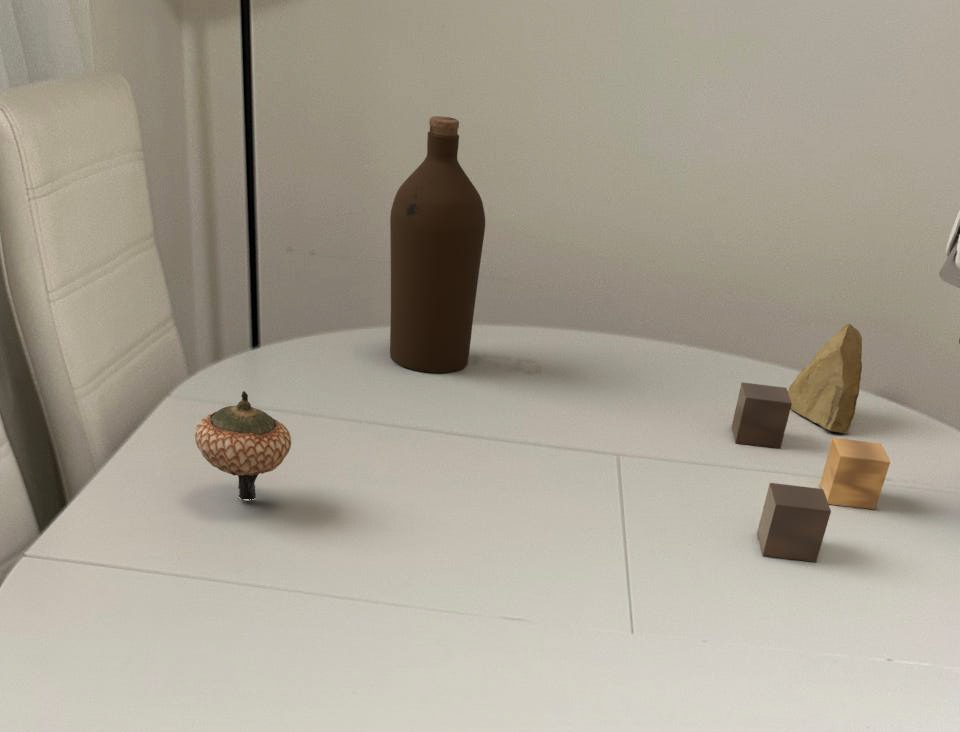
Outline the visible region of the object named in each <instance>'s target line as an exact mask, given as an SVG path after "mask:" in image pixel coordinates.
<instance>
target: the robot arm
mask: <svg viewBox="0 0 960 732" xmlns="http://www.w3.org/2000/svg"><path fill="white" fill-rule="evenodd" d="M945 255H946V256H947V257H946V260H945V261H944V263H943V265H942V267H941V269H940V270H939V273H938V275H939V278H940V279H941V280H942V281H943V282H945V283H946V284H949V285H951V286H953V287H955V288H957V289H960V209H959V210H958V213H957V216H956V217H955V221H954V223H953V225H952V228H951V231H950V233H949V237H948V240H947V244H946V249H945ZM958 339H959V340H958V344H960V338H958Z"/></svg>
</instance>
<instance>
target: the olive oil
mask: <svg viewBox="0 0 960 732" xmlns="http://www.w3.org/2000/svg"><path fill="white" fill-rule="evenodd" d="M428 124H429V131H427V141H426V143H427V144H426V156H425V158H424V160H423V161H422V162H421V163H420V164H419V165H418V166H417V167H416V169H414V171H413V172H412V173H411V174H410V175H408V177H407V178H406V179H405V180H404V181H403V182H402V184H401V185H399V188H398V189H397V190H396V193H395V196H394V199H393V202H392V205H391V209H390V216H389V217H390V218H389V220H390V221H389V224H390V225H389V227H390V229H389V230H390V231H389V232H390V235H389V236H390V238H389V239H390V328H389V330H390V332H389V334H390V335H389V336H390V337H389V357H390V359H391V360H392V361H393V362H394V363H395V364H397V365H398V366H400V367H403V368H407V369H409V370H413V371H419V372H426V373H451V372H456V371H460V370H462V369H464V368H465V367H466V366H468V364H469V360H470V351H471V341H472V332H473V325H474V323H473V322H474V315H475V308H476V307H475V306H476V298H477V291H478V282H479V275H480V270H481V269H480V268H481V262H482V253H483V246H484V239H485V231H486V213H485V208H484V207H485V206H484V204H483V203H484V202H483V200H482V197H481V195H480V193H479V191H478V190H477V188H476V187H475V185H474V184H473V182H472V181H471V179H470V178H469V177H468V174H467V173H466V172H465V170H464V169H463V168H462V166H461V164H460V162H459V159H458V155H459V153H458V152H459V144H460V141H459V140H460V135H459V134H458V132H459V128H460V121H459V119H457V118H454V117H450V116H441V115H440V116H431V117H430V118H429V123H428Z"/></svg>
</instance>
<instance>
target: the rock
mask: <svg viewBox="0 0 960 732" xmlns="http://www.w3.org/2000/svg"><path fill="white" fill-rule="evenodd" d="M862 342H863V337H862V334H861V333H860V331H859V330H858V329H857V328H856V327H854V326H853V325H852V324H850V323H845V324H844V325H843V327H842V328H841V329H840V330H839V331H838V332H837V333H836V334H834V335H833V336H832V337H831V338H830V340H827V342H826V343H825V344H824V345H823V346H822V348H821V349H820V350H819V351H818V352H817V353H816V354H815V355H814V357H813V358H812V360H811V361H809V364H808V365H806V366H805V367H804V368H803V369H802V370H801V371H800V372H799V373H798V374H797V376H796V377H795V379H793V381H792V382H791V384H790V386H789V387H788V390H787V391H788V394H789V397H790V399H791V402H792V405H791V409H790V410H792V411H794V412H795V413H797V414H798V415H800V416H802V417H803V418H806V419H808V420H809V421H810V422H812V423H814V424H817V425H819V426H821V428H823V429H825V430H827V431H829V432H833V433H840V434H847V432H848V431H849V428H850V427H851V424H852V423H851V422H852V420H853V419H854V416H855V414H856V406H857V401H858V398H859V395H860V383H861V380H862V371H863V362H862V355H863V353H862V352H863V343H862Z"/></svg>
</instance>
